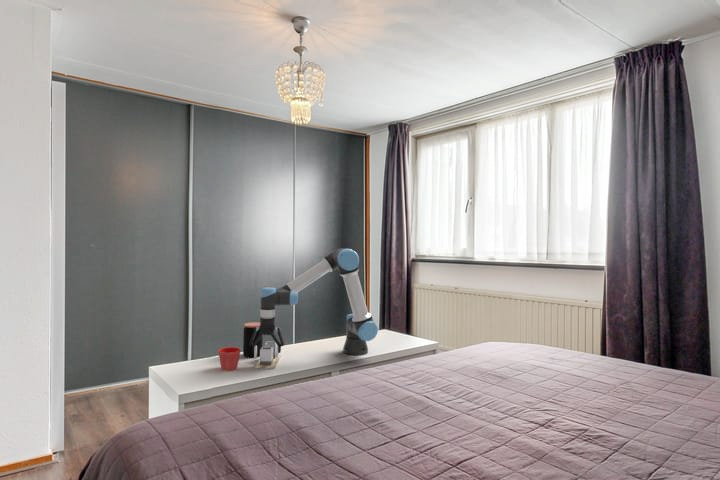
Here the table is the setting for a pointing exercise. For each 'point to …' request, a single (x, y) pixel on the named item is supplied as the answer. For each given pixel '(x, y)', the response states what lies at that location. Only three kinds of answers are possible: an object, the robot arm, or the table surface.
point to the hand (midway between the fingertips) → (266, 358)
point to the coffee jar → (247, 337)
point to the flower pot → (229, 358)
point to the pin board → (268, 365)
